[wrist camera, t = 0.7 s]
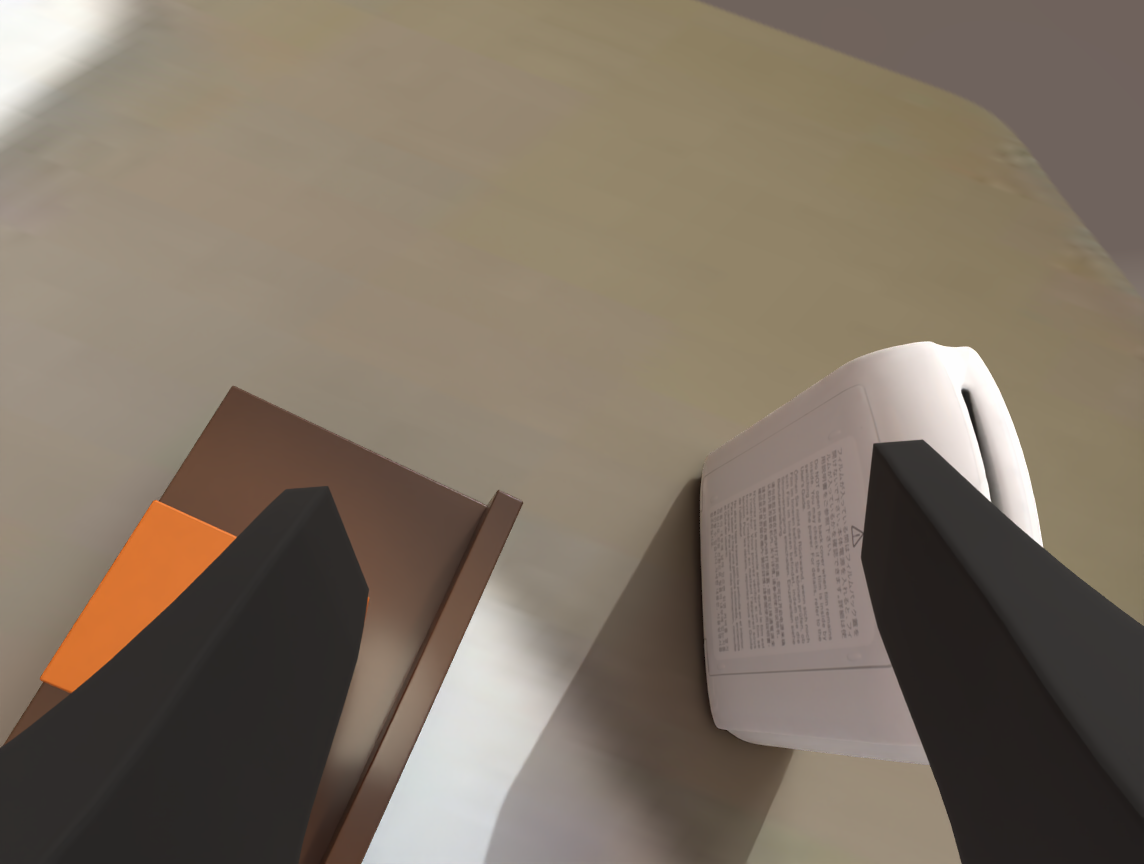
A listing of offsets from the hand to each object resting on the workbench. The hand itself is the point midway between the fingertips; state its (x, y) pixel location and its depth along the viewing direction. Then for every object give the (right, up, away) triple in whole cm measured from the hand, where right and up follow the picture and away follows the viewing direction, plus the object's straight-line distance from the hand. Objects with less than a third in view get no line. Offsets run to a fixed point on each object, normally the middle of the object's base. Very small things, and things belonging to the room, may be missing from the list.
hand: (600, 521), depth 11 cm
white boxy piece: (+6, -4, +18) cm, 20 cm away
